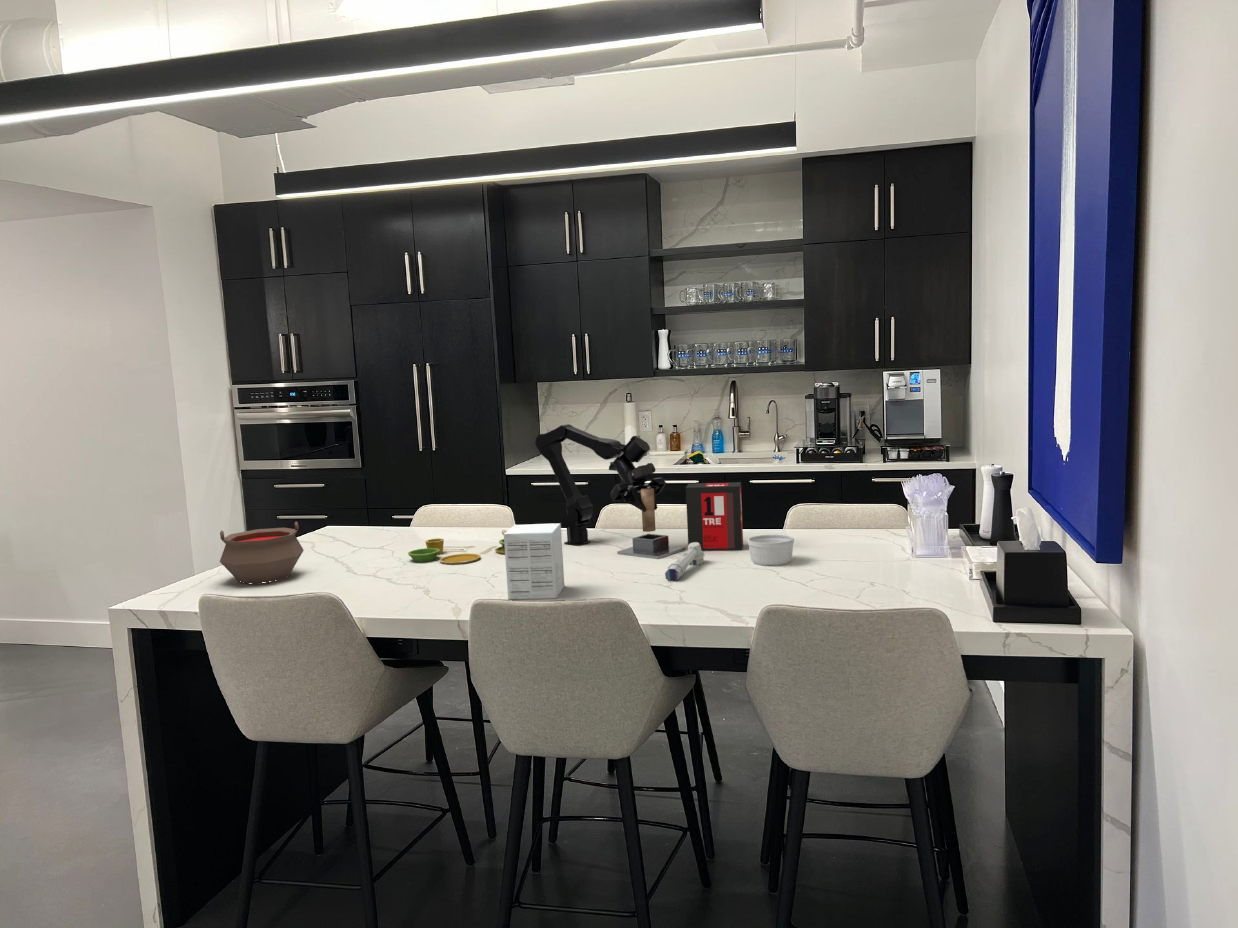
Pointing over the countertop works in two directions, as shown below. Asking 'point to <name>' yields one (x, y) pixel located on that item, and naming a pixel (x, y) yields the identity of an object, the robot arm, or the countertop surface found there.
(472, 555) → the tableware set
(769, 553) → the ramekin
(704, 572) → the countertop surface
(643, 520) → the rail post
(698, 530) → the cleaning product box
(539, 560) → the supplement box
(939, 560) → the countertop surface
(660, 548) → the grey square socket base
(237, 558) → the brown cooking pot
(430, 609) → the countertop surface
